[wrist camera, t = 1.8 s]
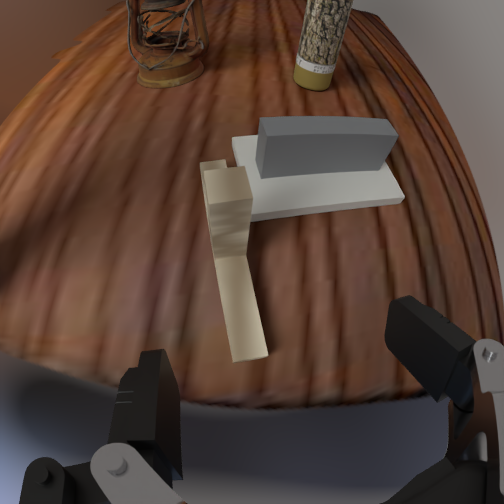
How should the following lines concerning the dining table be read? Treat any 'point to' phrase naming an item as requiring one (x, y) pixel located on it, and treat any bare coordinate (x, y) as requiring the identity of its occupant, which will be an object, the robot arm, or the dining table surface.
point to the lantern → (167, 44)
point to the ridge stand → (317, 165)
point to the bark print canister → (320, 42)
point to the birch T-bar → (233, 255)
